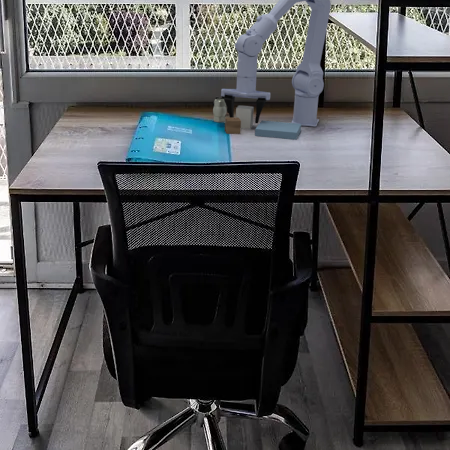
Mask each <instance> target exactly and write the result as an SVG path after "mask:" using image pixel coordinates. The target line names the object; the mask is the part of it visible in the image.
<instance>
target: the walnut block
mask: <svg viewBox="0 0 450 450" xmlns="http://www.w3.org/2000/svg"><path fill="white" fill-rule="evenodd" d="M224 132H225V133H226V134H228V135H241V120H240V119H239V118H236V117H234V118H230V117H226V116H225V122H224Z"/></svg>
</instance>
